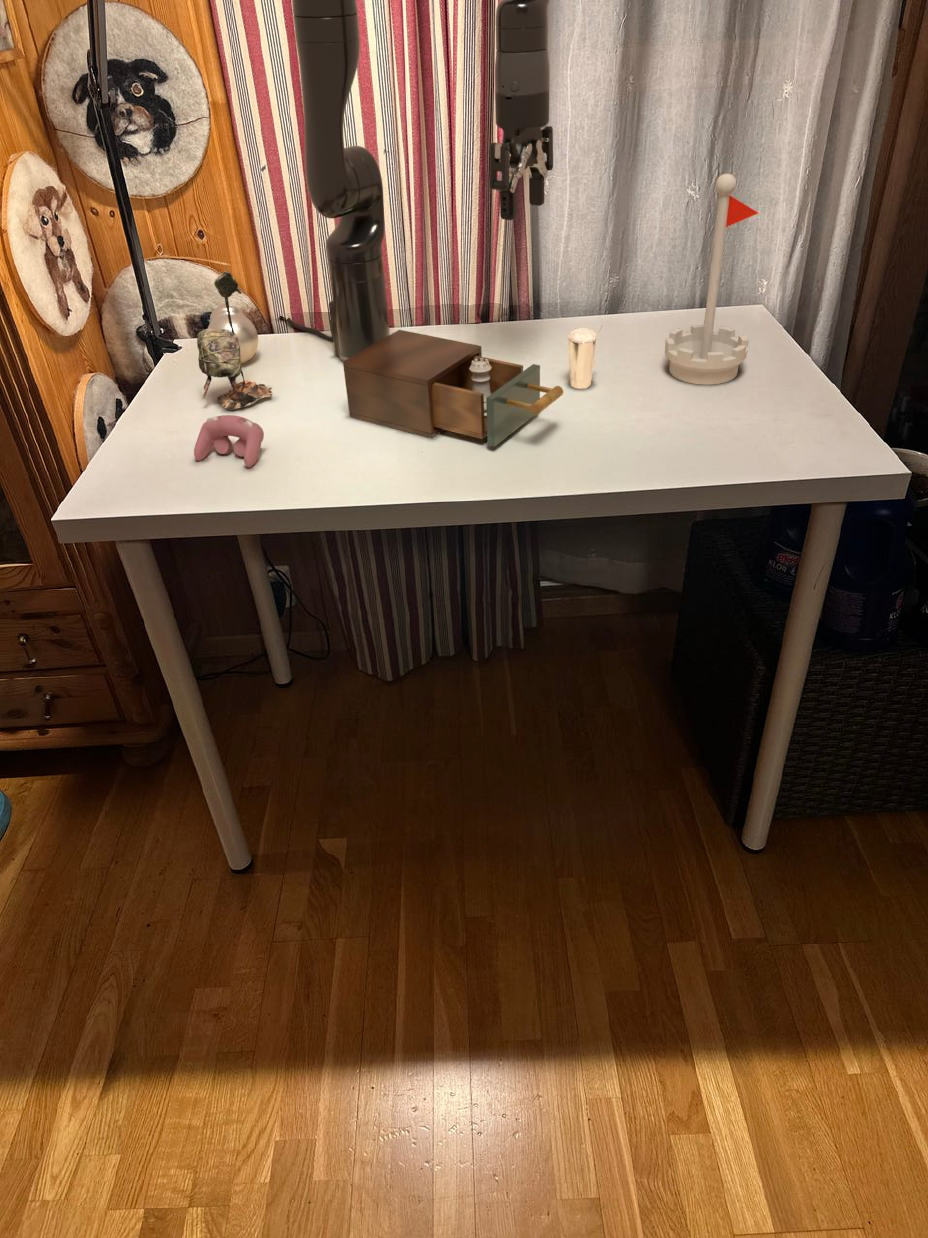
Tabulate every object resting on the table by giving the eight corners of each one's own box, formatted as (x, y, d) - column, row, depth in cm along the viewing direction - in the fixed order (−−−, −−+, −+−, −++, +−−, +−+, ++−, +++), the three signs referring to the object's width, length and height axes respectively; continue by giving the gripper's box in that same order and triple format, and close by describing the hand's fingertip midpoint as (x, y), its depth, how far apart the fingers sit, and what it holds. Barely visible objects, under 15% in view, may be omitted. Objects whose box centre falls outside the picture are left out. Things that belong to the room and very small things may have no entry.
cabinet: (483, 401, 147) (481, 345, 141) (431, 438, 137) (427, 380, 132) (404, 382, 154) (399, 329, 148) (349, 417, 144) (342, 361, 139)
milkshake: (598, 391, 148) (601, 330, 142) (565, 389, 149) (566, 329, 143) (600, 379, 151) (603, 319, 145) (568, 378, 152) (569, 318, 146)
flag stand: (655, 381, 150) (672, 182, 131) (672, 351, 159) (690, 161, 141) (737, 391, 146) (767, 186, 127) (749, 360, 155) (779, 165, 137)
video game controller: (266, 467, 136) (269, 419, 134) (249, 468, 131) (252, 418, 130) (208, 459, 138) (210, 412, 137) (190, 460, 134) (192, 411, 133)
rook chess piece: (501, 408, 140) (500, 357, 135) (490, 420, 137) (488, 369, 132) (474, 404, 141) (472, 353, 136) (462, 416, 138) (460, 365, 133)
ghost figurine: (266, 350, 168) (256, 295, 162) (258, 371, 161) (247, 314, 154) (216, 353, 168) (204, 298, 162) (206, 373, 161) (194, 317, 154)
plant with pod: (202, 396, 153) (173, 274, 141) (270, 385, 155) (247, 263, 143) (206, 416, 147) (176, 290, 135) (277, 404, 149) (254, 279, 137)
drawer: (572, 418, 139) (574, 371, 134) (528, 455, 130) (528, 407, 125) (460, 392, 148) (458, 348, 143) (412, 425, 139) (408, 379, 134)
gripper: (524, 78, 134) (524, 198, 144) (471, 94, 124) (475, 221, 134) (570, 80, 130) (567, 202, 140) (519, 97, 121) (520, 226, 131)
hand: (522, 211), depth 137 cm, fingers open, 8 cm apart
